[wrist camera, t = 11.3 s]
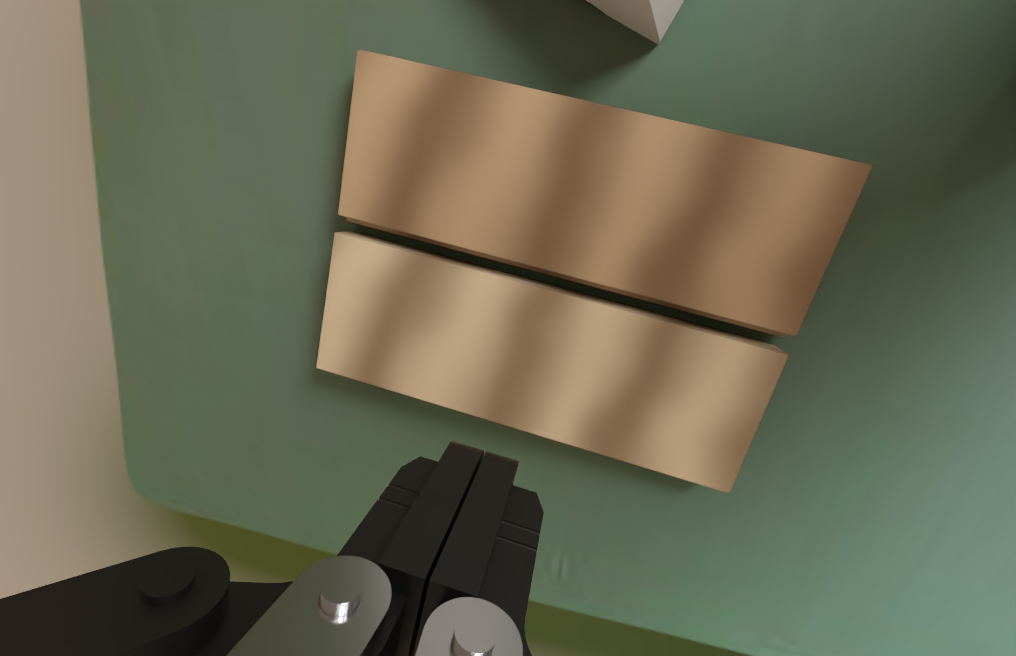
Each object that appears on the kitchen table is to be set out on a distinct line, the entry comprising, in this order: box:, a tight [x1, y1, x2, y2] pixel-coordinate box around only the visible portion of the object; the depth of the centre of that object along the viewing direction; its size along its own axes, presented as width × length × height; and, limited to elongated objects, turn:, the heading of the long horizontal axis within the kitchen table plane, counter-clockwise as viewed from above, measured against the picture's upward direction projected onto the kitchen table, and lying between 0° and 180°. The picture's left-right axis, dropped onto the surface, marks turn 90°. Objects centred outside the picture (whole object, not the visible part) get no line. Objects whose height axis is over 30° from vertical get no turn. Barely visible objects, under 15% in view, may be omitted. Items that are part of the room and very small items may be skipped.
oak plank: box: [316, 231, 789, 493], centre depth 26 cm, size 24×8×2 cm, turn 76°
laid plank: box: [338, 49, 873, 338], centre depth 24 cm, size 24×8×2 cm, turn 76°
